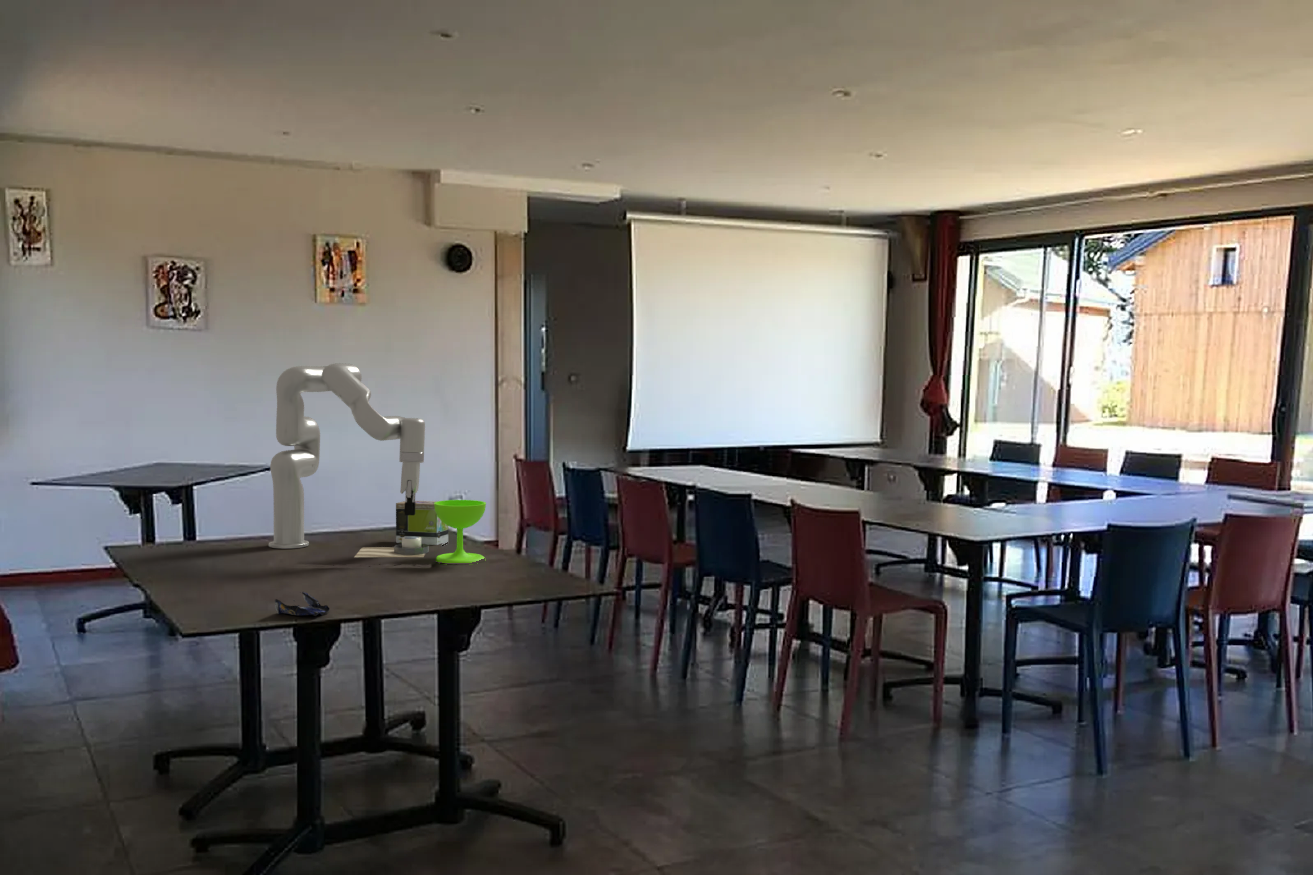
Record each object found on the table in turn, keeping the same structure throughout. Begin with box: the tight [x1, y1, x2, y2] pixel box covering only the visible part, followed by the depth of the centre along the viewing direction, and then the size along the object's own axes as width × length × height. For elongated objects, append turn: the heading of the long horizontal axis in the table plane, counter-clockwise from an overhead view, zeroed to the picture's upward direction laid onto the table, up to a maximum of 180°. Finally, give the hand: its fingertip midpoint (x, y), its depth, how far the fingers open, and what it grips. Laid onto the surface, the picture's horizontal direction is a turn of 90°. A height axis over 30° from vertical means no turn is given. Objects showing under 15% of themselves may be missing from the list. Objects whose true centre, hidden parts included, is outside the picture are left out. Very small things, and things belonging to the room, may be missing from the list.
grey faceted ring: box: [393, 543, 430, 555], centre depth 346 cm, size 10×10×2 cm
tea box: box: [395, 499, 449, 546], centre depth 366 cm, size 15×10×15 cm, turn 77°
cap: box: [401, 536, 421, 548], centre depth 346 cm, size 6×6×5 cm
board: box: [354, 546, 426, 558], centre depth 345 cm, size 18×21×1 cm
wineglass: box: [434, 499, 487, 563], centre depth 339 cm, size 16×16×18 cm
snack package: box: [274, 591, 330, 617], centre depth 263 cm, size 12×6×12 cm
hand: (409, 514), depth 345 cm, fingers closed
